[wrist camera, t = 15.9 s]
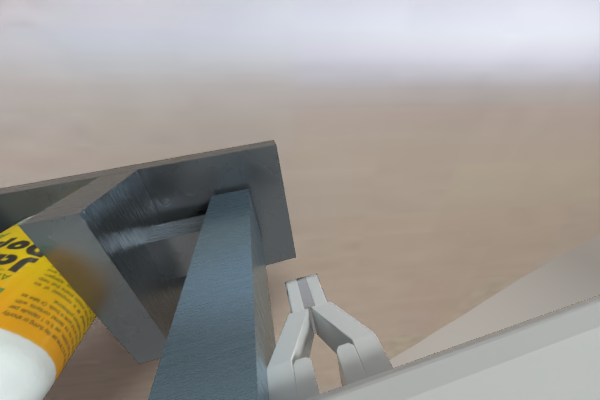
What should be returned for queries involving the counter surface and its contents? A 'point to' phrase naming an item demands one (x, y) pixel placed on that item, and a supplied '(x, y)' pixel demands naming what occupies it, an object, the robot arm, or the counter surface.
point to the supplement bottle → (35, 319)
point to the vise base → (183, 190)
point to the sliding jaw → (169, 284)
